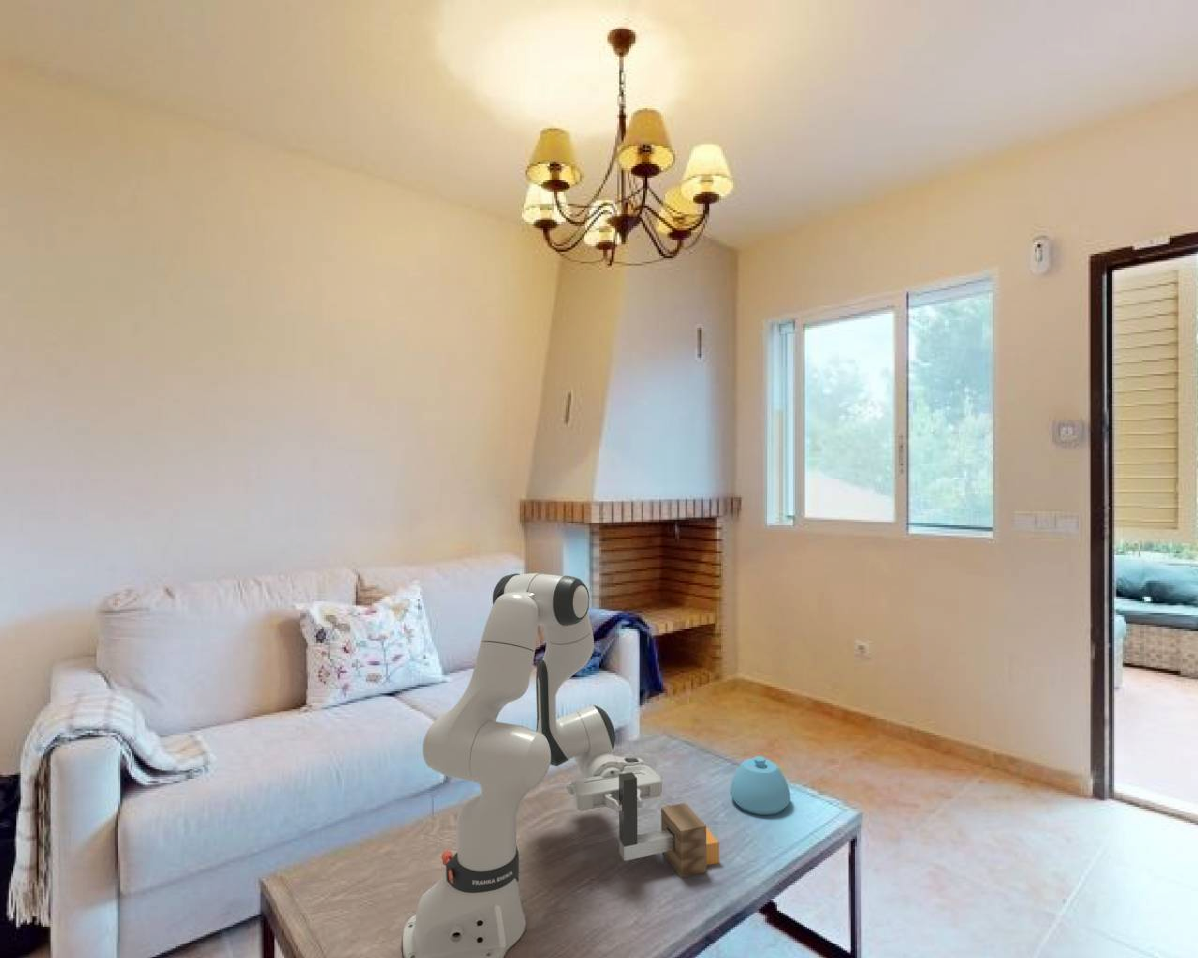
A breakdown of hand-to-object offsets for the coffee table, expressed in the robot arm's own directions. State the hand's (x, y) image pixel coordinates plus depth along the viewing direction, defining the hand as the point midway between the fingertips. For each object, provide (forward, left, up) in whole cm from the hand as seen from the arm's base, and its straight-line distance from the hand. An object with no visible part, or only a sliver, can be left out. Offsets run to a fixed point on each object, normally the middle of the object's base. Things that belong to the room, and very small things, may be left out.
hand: (629, 806), depth 136 cm
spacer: (+18, +1, -15) cm, 24 cm away
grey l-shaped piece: (+6, +1, -11) cm, 13 cm away
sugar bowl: (+43, +17, -15) cm, 49 cm away
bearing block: (+13, +1, -15) cm, 20 cm away
